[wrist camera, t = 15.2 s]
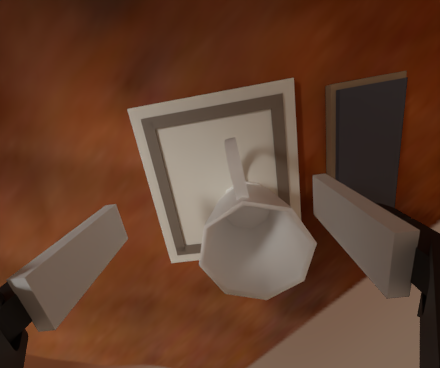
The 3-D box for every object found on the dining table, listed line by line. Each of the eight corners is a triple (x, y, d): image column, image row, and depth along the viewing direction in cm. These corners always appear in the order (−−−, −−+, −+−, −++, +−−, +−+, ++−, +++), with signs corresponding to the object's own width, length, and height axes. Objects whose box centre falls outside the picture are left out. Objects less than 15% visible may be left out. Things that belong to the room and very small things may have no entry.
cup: (219, 239, 21) (213, 309, 13) (191, 144, 18) (162, 163, 10) (288, 225, 20) (324, 292, 12) (270, 123, 17) (301, 128, 10)
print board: (131, 109, 18) (125, 108, 17) (290, 79, 17) (294, 77, 16) (173, 258, 23) (170, 264, 22) (300, 244, 22) (303, 250, 21)
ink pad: (325, 86, 17) (334, 83, 15) (396, 73, 16) (413, 68, 15) (326, 215, 20) (334, 223, 19) (385, 208, 20) (397, 215, 18)
